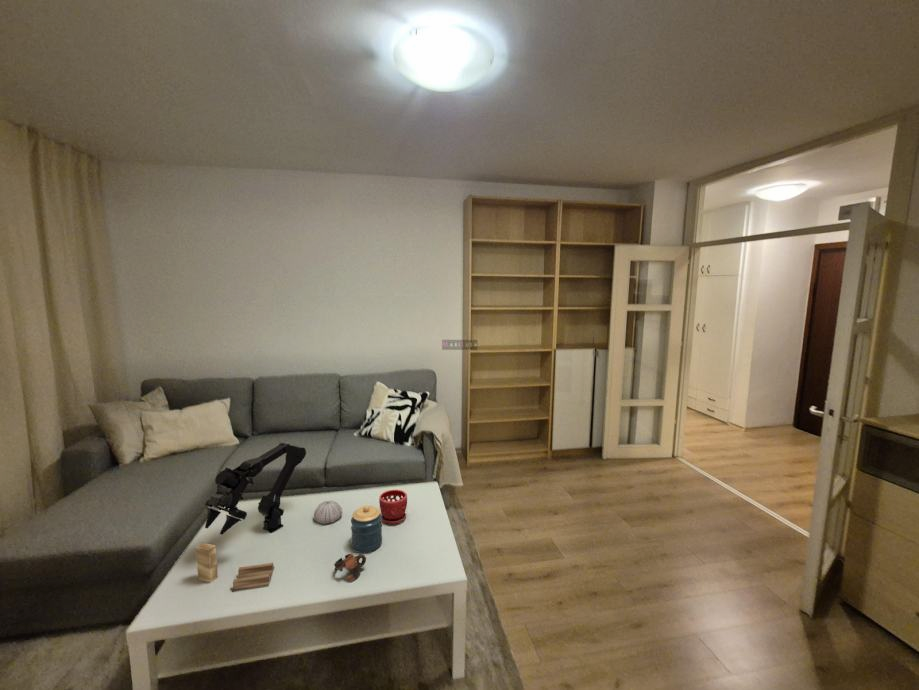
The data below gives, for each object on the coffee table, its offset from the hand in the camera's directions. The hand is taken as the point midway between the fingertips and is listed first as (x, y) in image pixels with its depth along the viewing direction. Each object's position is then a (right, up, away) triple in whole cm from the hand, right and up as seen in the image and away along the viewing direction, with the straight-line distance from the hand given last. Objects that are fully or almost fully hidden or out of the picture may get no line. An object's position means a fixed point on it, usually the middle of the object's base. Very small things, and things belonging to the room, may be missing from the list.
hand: (213, 531), depth 156 cm
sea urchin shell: (+34, -10, +34) cm, 49 cm away
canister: (+57, -13, +15) cm, 61 cm away
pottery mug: (+55, -15, -3) cm, 57 cm away
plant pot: (+65, -10, +34) cm, 75 cm away
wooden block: (+2, -15, -7) cm, 16 cm away
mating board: (+20, -15, -7) cm, 26 cm away
